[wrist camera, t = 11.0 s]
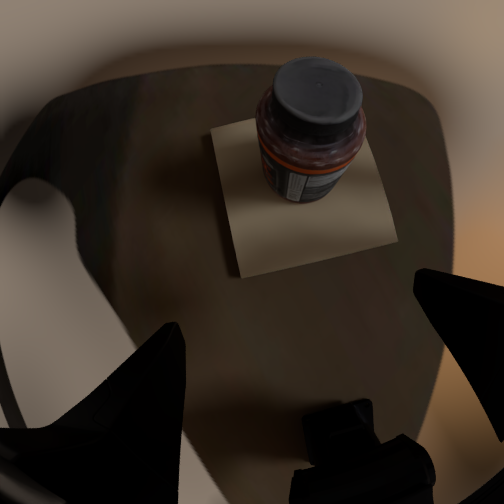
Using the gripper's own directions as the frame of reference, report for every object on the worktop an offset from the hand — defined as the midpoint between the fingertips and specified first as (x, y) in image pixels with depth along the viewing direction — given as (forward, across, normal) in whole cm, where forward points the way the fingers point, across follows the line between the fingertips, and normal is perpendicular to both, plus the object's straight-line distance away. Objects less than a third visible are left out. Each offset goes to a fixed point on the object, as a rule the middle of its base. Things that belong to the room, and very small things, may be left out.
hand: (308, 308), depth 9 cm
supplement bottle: (+14, -4, -3) cm, 15 cm away
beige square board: (+15, -4, -2) cm, 15 cm away
